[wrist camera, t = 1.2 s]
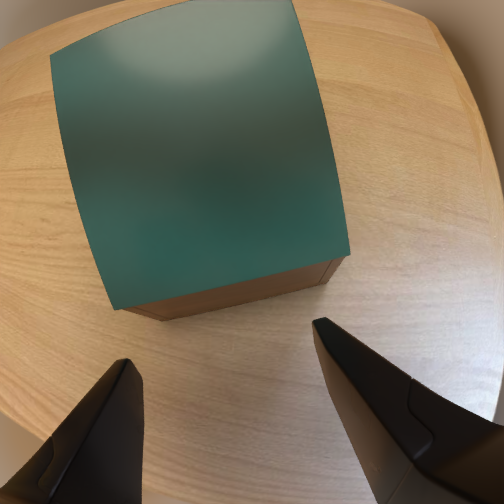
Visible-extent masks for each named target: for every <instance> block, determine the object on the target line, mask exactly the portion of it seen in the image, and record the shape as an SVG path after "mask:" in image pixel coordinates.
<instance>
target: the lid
mask: <svg viewBox="0 0 504 504" xmlns="http://www.w3.org/2000/svg"><path fill="white" fill-rule="evenodd" d="M50 62H51V73H52V82H53V90H54V97H55V104H56V111H57V117H58V123H59V128H60V134H61V139H62V144H63V149H64V154H65V158H66V163H67V167H68V171H69V175H70V179H71V183H72V187H73V191H74V195H75V199H76V202H77V206H78V209H79V213H80V216H81V219H82V223H83V226H84V229H85V232H86V236H87V239H88V242H89V245H90V248H91V251H92V254H93V257H94V259H95V262H96V265H97V268H98V271H99V273H100V276H101V279H102V281H103V284H104V286H105V289H106V292H107V294H108V297H109V299H110V302H111V304H112V306H113V309H114V310H119V309H124V308H129V307H134V306H138V305H143V304H148V303H152V302H157V301H161V300H166V299H170V298H175V297H179V296H184V295H188V294H193V293H197V292H202V291H206V290H210V289H215V288H219V287H223V286H227V285H232V284H236V283H240V282H244V281H249V280H253V279H257V278H261V277H265V276H269V275H273V274H277V273H282V272H286V271H290V270H294V269H298V268H302V267H306V266H310V265H314V264H317V263H321V262H325V261H329V260H333V259H337V258H341V257H345V256H349V255H350V246H349V239H348V232H347V225H346V219H345V213H344V207H343V201H342V195H341V189H340V184H339V178H338V173H337V168H336V163H335V158H334V153H333V148H332V144H331V139H330V135H329V130H328V126H327V121H326V117H325V113H324V109H323V105H322V101H321V97H320V93H319V89H318V85H317V82H316V78H315V74H314V71H313V67H312V63H311V60H310V57H309V53H308V50H307V46H306V43H305V40H304V37H303V34H302V30H301V27H300V24H299V21H298V18H297V15H296V12H295V9H294V6H293V3H292V1H291V0H190V1H186V2H182V3H178V4H174V5H171V6H167V7H164V8H161V9H157V10H154V11H151V12H148V13H145V14H142V15H139V16H136V17H133V18H131V19H128V20H125V21H123V22H120V23H118V24H115V25H112V26H110V27H108V28H105V29H103V30H100V31H98V32H96V33H94V34H91V35H89V36H87V37H85V38H83V39H81V40H79V41H76V42H74V43H72V44H70V45H68V46H66V47H65V48H63V49H61V50H59V51H57V52H55V53H53V54H51V55H50Z"/></svg>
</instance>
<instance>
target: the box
mask: <svg viewBox="0 0 504 504" xmlns="http://www.w3.org/2000/svg"><path fill="white" fill-rule="evenodd" d="M344 258H345V257H341V258H337V259H333V260H329V261H325V262H321V263H317V264H314V265H310V266H306V267H302V268H298V269H294V270H290V271H286V272H282V273H277V274H273V275H269V276H265V277H261V278H257V279H253V280H249V281H244V282H240V283H236V284H232V285H227V286H223V287H219V288H215V289H210V290H206V291H202V292H197V293H193V294H188V295H184V296H179V297H175V298H170V299H166V300H161V301H157V302H152V303H148V304H143V305H138V306H134V307H129V308H124V309H123V310H126V311H129V312H133V313H136V314H139V315H143V316H146V317H149V318H153V319H156V320H160V321H166V320H171V319H176V318H181V317H185V316H190V315H195V314H199V313H204V312H209V311H213V310H218V309H222V308H227V307H231V306H235V305H240V304H244V303H248V302H253V301H257V300H261V299H265V298H269V297H273V296H277V295H281V294H285V293H289V292H293V291H297V290H301V289H305V288H309V287H313V286H317V285H321V284H324V283H327V282H328V281H329V279H330V278H331V276H332V275H333V274H334V272H335V271H336V269H337V268H338V266H339V265H340V264H341V262H342V261H343V259H344Z"/></svg>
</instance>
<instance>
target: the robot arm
mask: <svg viewBox="0 0 504 504" xmlns="http://www.w3.org/2000/svg"><path fill="white" fill-rule="evenodd" d="M312 329H313V337H314V344H315V348H316V352H317V355H318V358H319V362H320V365H321V368H322V372H323V375H324V378H325V382H326V385H327V388H328V391H329V394H330V396H331V399H332V401H333V403H334V406H335V408H336V410H337V412H338V414H339V417H340V419H341V421H342V423H343V426H344V428H345V430H346V432H347V435H348V437H349V439H350V442H351V444H352V446H353V448H354V451H355V453H356V455H357V457H358V460H359V462H360V464H361V467H362V469H363V471H364V473H365V476H366V478H367V480H368V483H369V485H370V487H371V489H372V492H373V494H374V496H375V499H376V501H377V503H378V504H504V426H502V425H498V424H495V423H493V422H491V421H488V420H486V419H484V418H482V417H480V416H478V415H476V414H474V413H472V412H470V411H468V410H466V409H464V408H462V407H460V406H458V405H456V404H454V403H453V402H451V401H449V400H447V399H445V398H444V397H442V396H440V395H438V394H437V393H435V392H434V391H432V390H430V389H429V388H427V387H426V386H424V385H423V384H421V383H420V382H418V381H417V380H415V379H414V378H413V379H411V378H412V377H411V376H410V375H408V374H407V373H405V372H404V371H402V370H401V369H399V368H398V367H397V366H395V365H394V364H392V363H391V362H389V361H388V360H387V359H385V358H384V357H382V356H381V355H379V354H378V353H377V352H375V351H374V350H372V349H371V348H369V347H368V346H367V345H365V344H364V343H362V342H361V341H359V340H358V339H357V338H355V337H354V336H352V335H351V334H350V333H348V332H347V331H345V330H344V329H342V328H341V327H340V326H338V325H337V324H335V323H334V322H332V321H331V320H330V319H328V318H326V317H323V318H319V319H316V320H313V321H312ZM143 441H144V400H143V380H142V377H141V375H140V373H139V372H138V370H137V369H136V367H135V365H134V364H133V362H132V361H131V360H130V359H128V358H126V359H119V360H116V361H115V362H114V363H113V365H112V366H111V367H110V368H109V369H108V370H107V371H106V372H105V374H104V375H103V376H102V377H101V378H100V379H99V380H98V382H97V383H96V384H95V385H94V386H93V387H92V388H91V390H90V391H89V392H88V393H87V394H86V395H85V396H84V398H83V399H82V400H81V401H80V402H79V403H78V404H77V406H76V407H75V408H74V409H73V410H72V411H71V413H70V414H69V415H68V416H67V417H66V418H65V419H64V421H63V422H62V423H61V424H60V425H59V426H58V428H57V429H56V430H55V431H54V432H53V434H52V436H50V437H49V438H48V439H47V441H46V442H45V443H44V444H43V445H42V447H41V448H40V449H39V450H38V451H37V452H36V453H35V454H34V456H32V458H31V459H30V460H29V461H28V462H27V463H26V464H25V465H24V466H23V467H22V468H21V469H20V470H19V471H18V472H17V473H16V474H15V475H14V476H13V477H12V478H11V479H10V480H9V481H8V482H7V483H6V484H5V485H4V486H3V487H1V488H0V504H142V462H143Z"/></svg>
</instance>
